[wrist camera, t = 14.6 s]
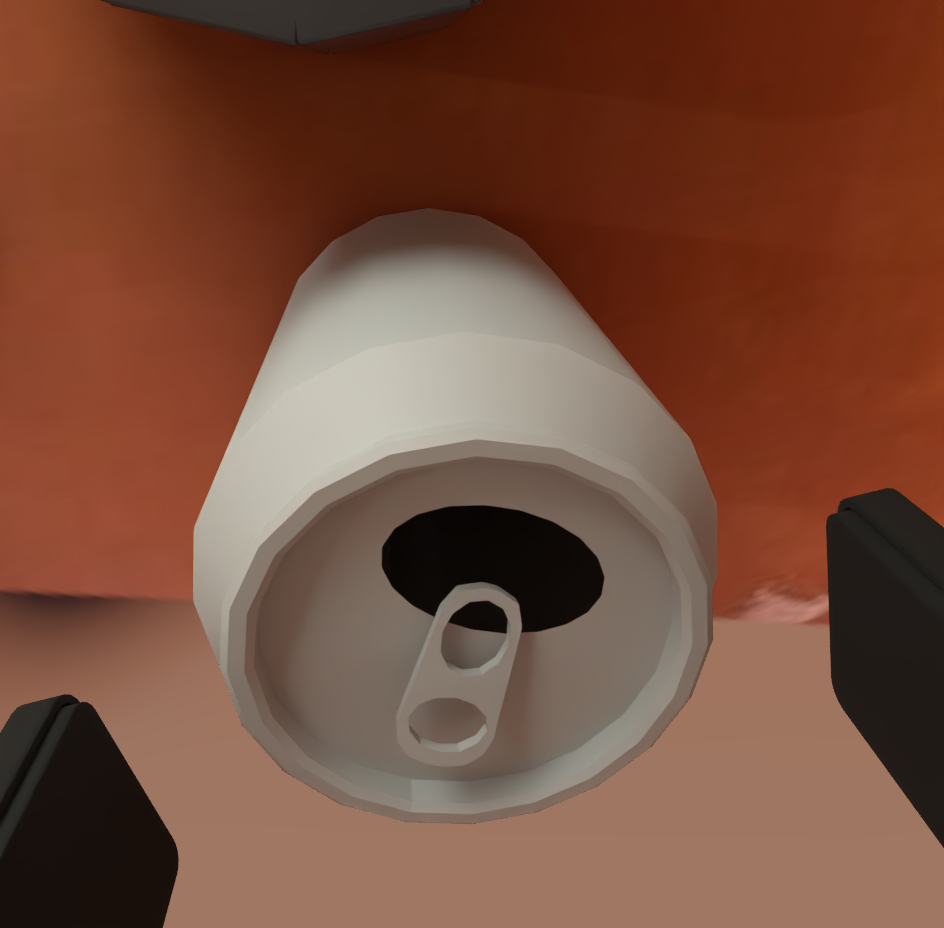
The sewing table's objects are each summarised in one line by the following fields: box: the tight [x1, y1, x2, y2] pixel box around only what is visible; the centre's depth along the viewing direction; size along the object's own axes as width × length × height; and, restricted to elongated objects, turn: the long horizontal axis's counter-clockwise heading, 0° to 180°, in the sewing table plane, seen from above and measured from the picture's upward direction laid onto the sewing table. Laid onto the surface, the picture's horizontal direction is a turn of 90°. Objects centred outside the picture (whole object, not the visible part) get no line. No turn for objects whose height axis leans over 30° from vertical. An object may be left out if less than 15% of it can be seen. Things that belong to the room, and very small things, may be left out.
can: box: [193, 208, 718, 824], centre depth 15 cm, size 8×8×12 cm
